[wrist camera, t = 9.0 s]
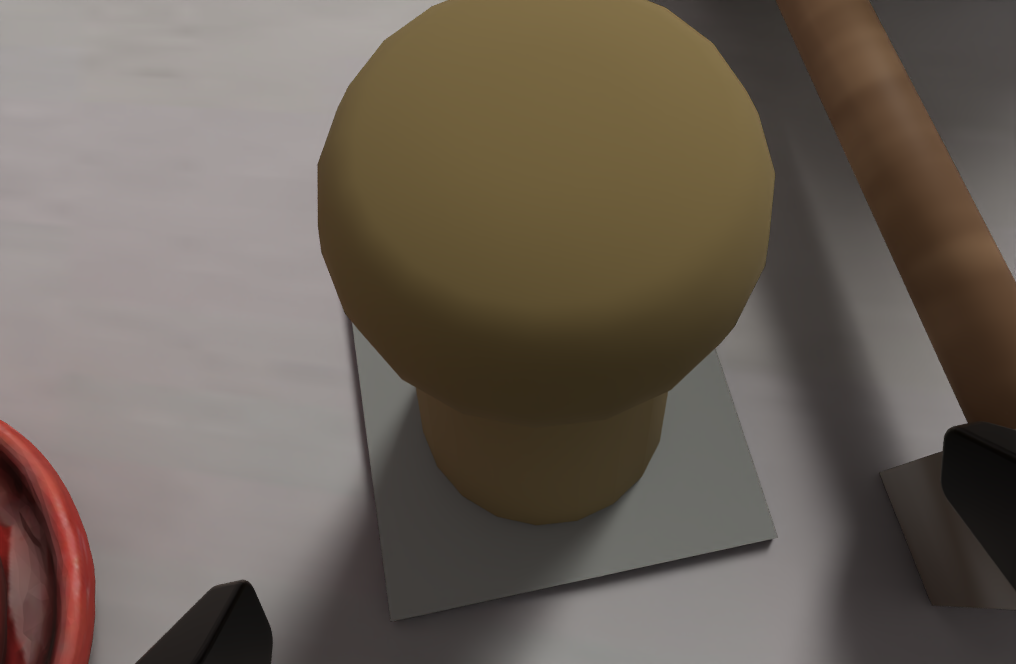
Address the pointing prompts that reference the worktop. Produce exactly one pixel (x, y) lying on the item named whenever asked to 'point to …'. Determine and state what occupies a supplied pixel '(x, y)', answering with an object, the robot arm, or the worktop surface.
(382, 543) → the pad
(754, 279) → the cork
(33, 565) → the plant pot
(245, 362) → the worktop surface
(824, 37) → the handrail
